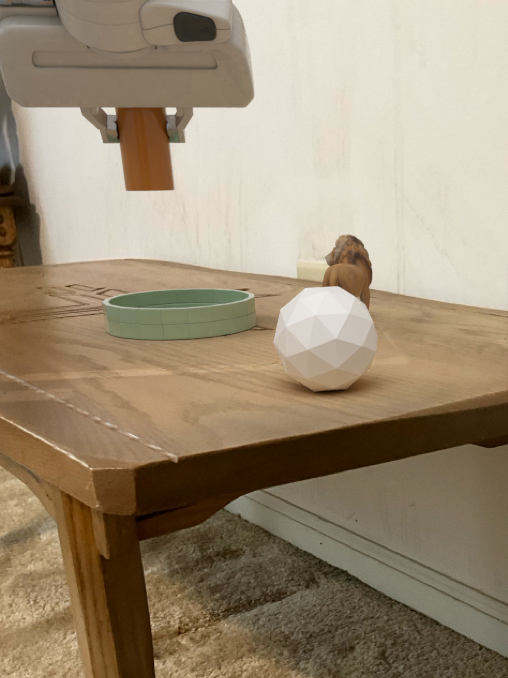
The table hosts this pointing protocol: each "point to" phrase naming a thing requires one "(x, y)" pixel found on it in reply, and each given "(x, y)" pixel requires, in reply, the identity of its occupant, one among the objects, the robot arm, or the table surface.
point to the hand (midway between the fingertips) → (145, 138)
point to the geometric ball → (325, 338)
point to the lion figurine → (349, 268)
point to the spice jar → (145, 149)
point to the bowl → (179, 313)
